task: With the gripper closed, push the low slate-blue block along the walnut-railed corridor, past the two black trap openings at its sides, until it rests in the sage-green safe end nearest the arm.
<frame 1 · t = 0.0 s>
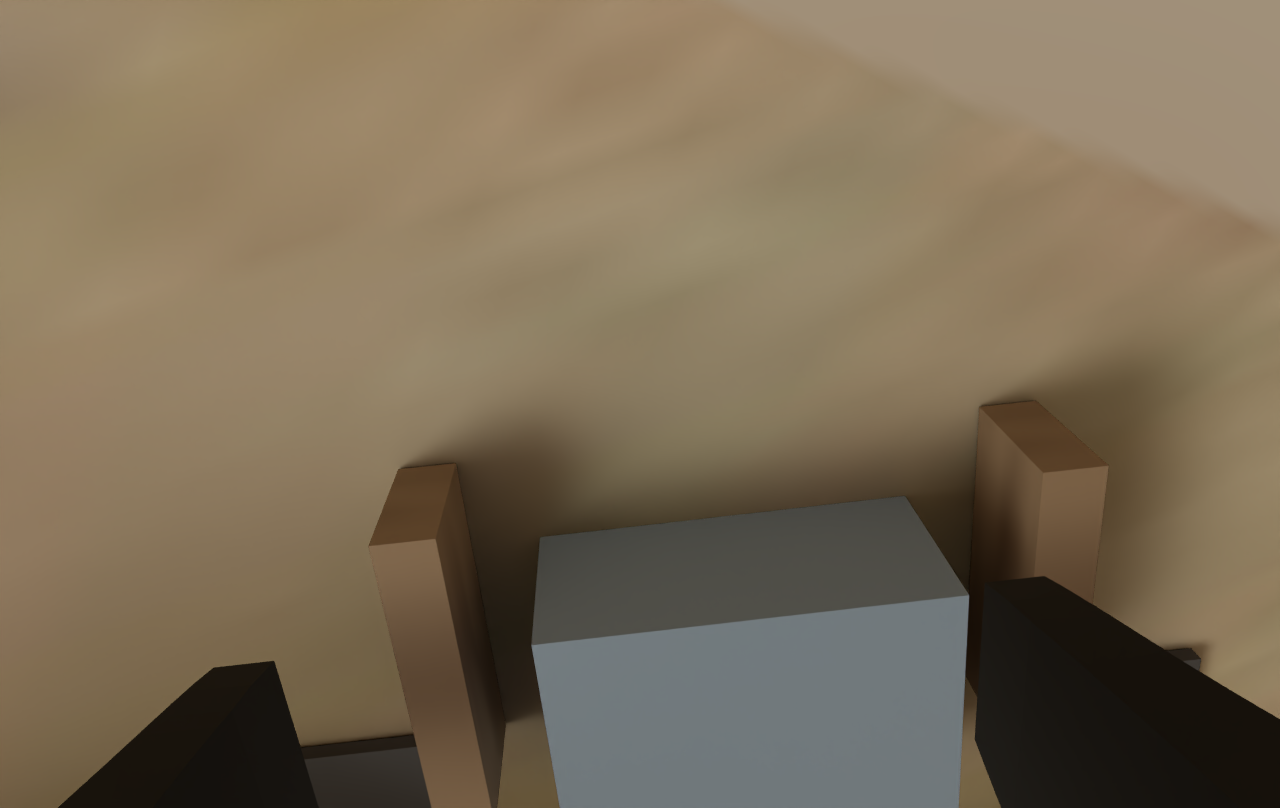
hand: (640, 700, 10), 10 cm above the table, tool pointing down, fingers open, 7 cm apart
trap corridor: (740, 763, 23), on the table
slate block: (730, 639, 22), on the table
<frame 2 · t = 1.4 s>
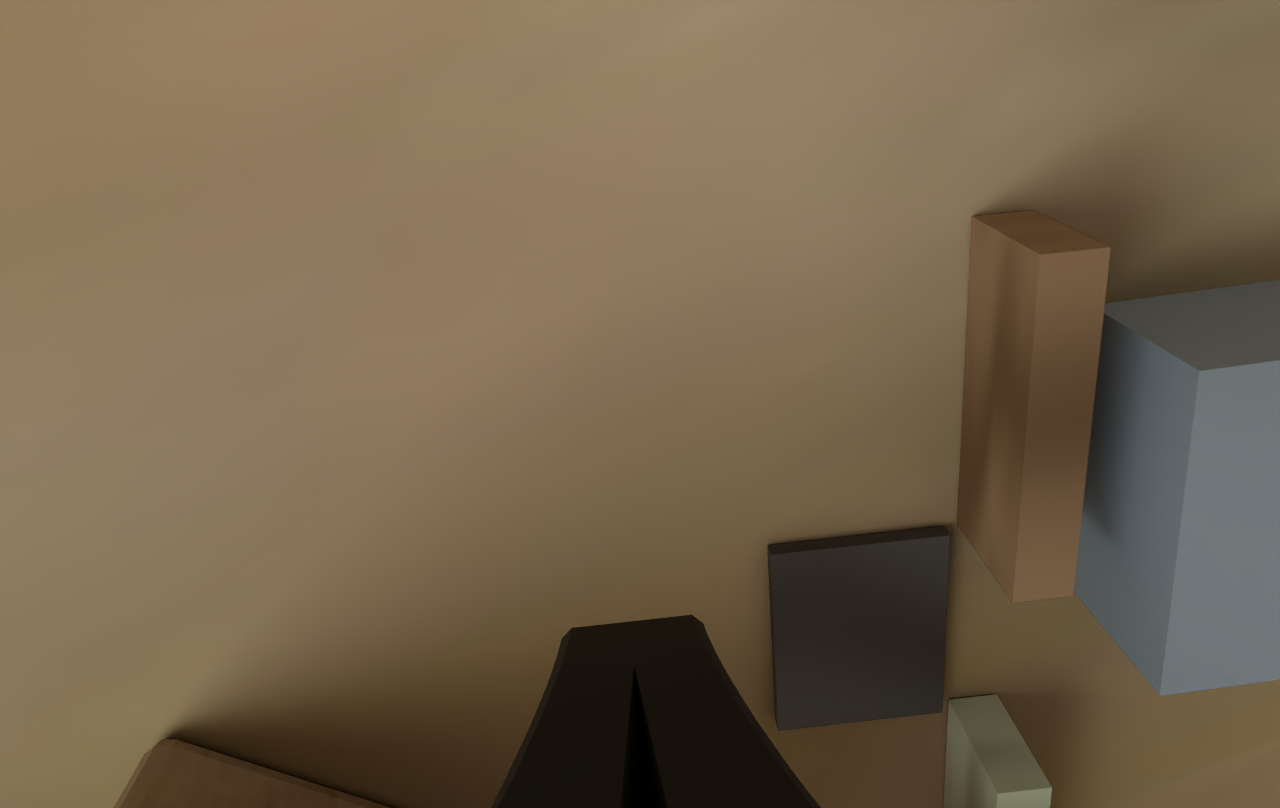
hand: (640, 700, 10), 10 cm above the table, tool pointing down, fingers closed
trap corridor: (1236, 567, 22), on the table
slate block: (1252, 426, 21), on the table
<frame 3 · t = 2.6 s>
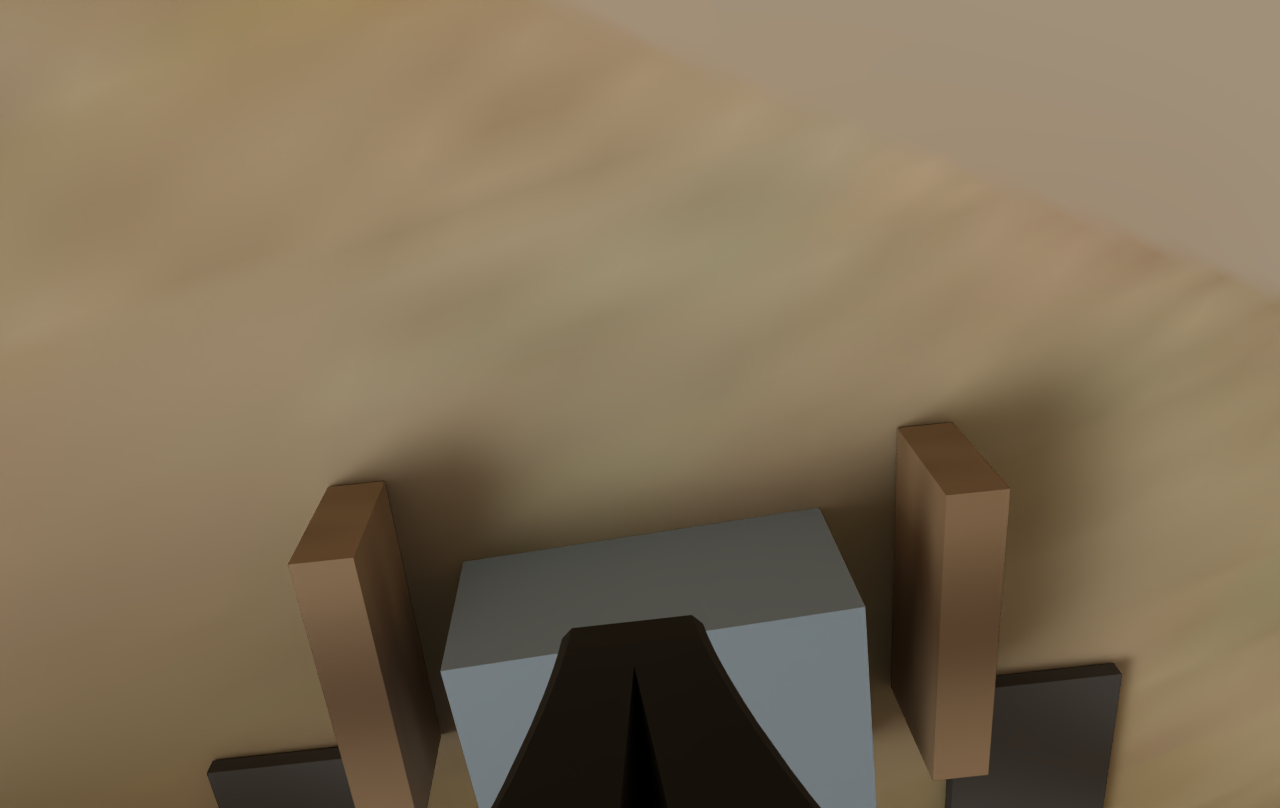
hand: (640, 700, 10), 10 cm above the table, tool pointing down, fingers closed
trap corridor: (672, 774, 24), on the table
slate block: (661, 653, 23), on the table
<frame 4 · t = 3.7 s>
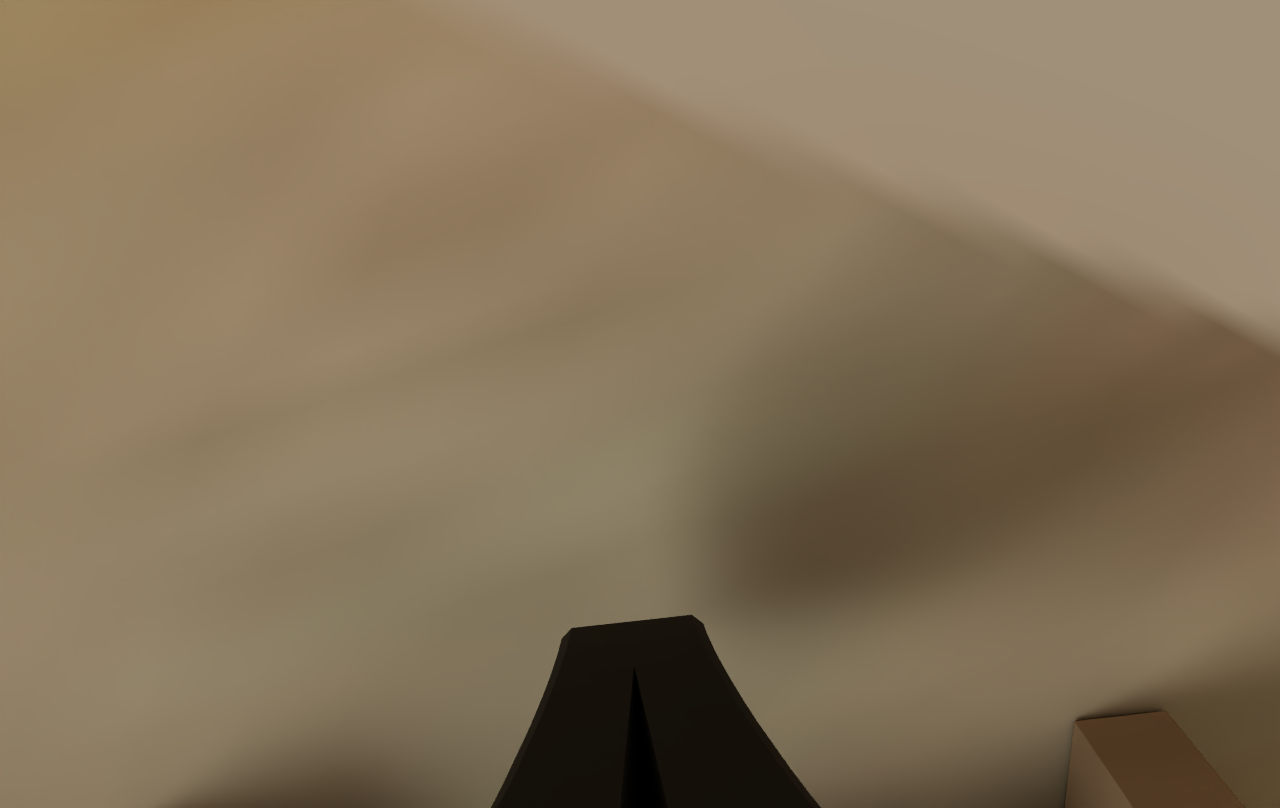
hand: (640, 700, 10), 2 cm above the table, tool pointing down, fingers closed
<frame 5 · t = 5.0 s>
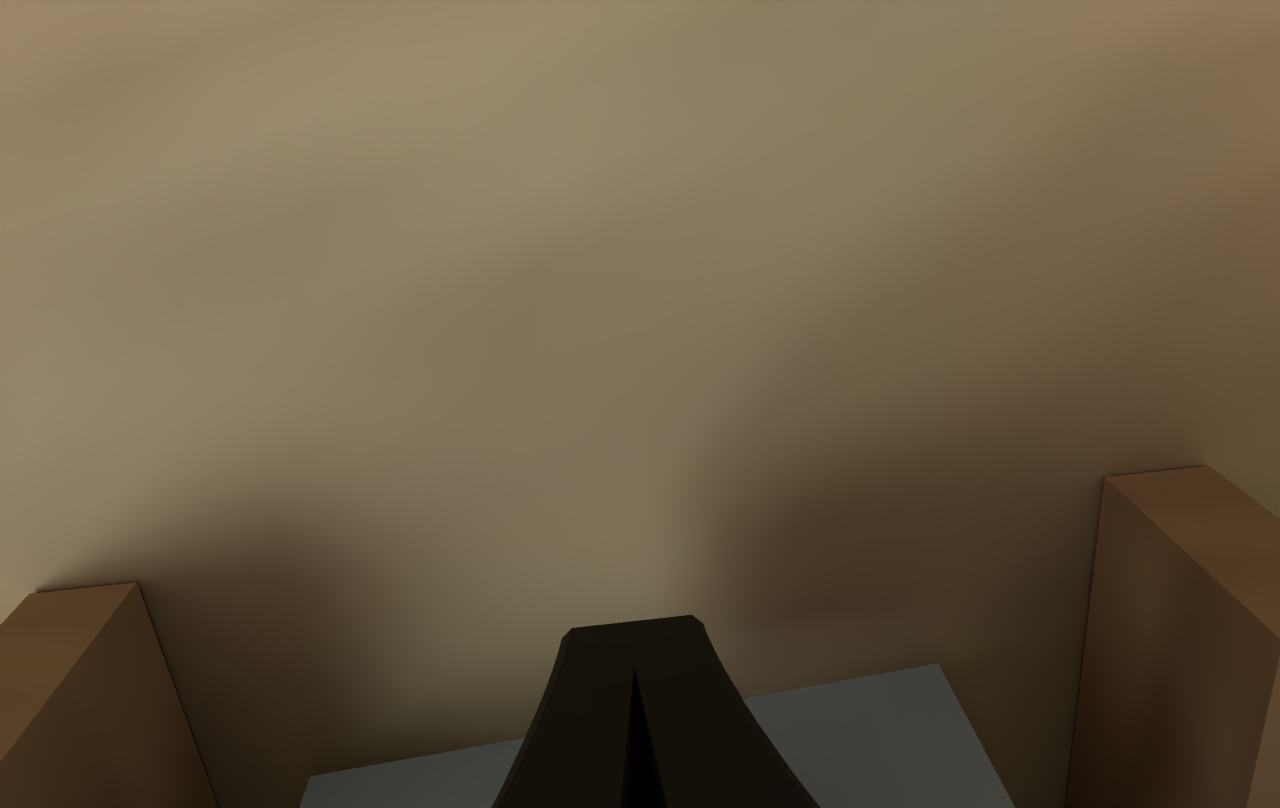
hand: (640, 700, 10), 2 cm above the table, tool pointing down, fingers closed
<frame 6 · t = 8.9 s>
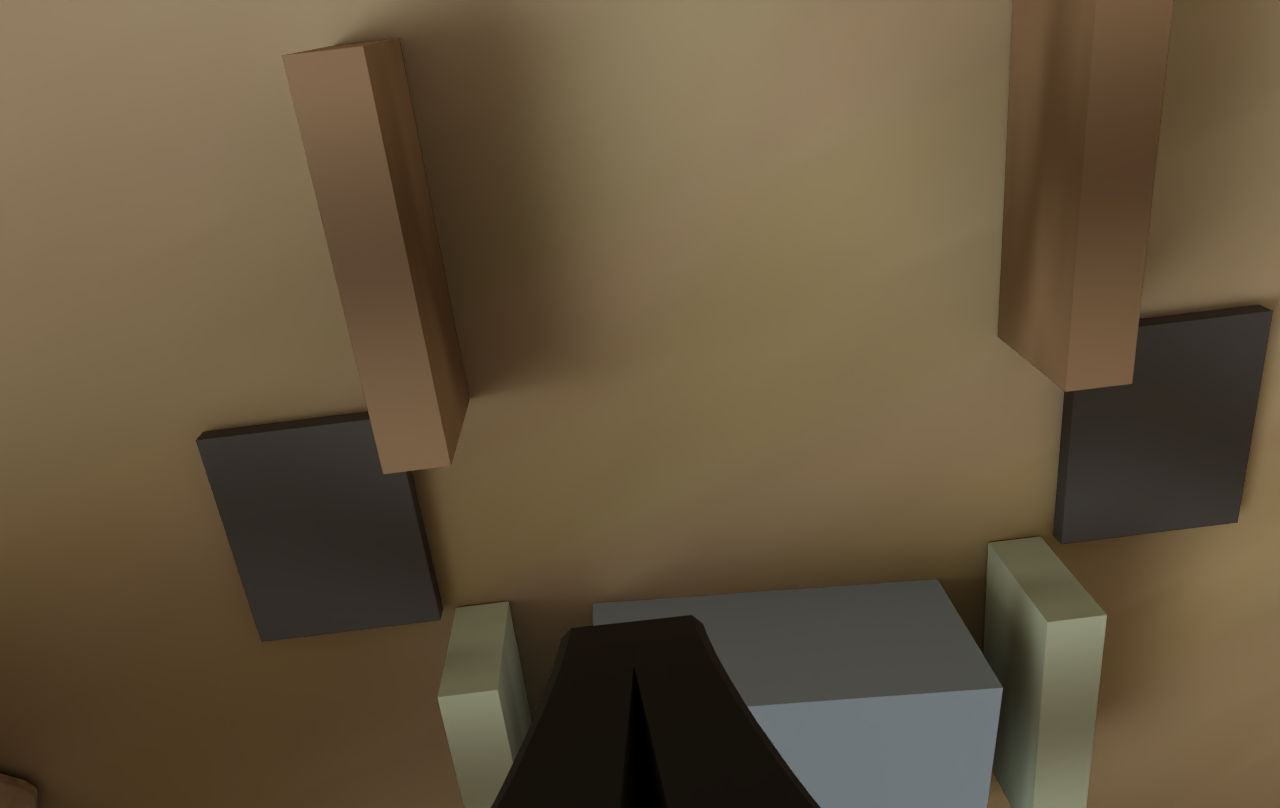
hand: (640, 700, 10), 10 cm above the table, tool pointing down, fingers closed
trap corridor: (740, 454, 20), on the table
slate block: (763, 703, 23), on the table
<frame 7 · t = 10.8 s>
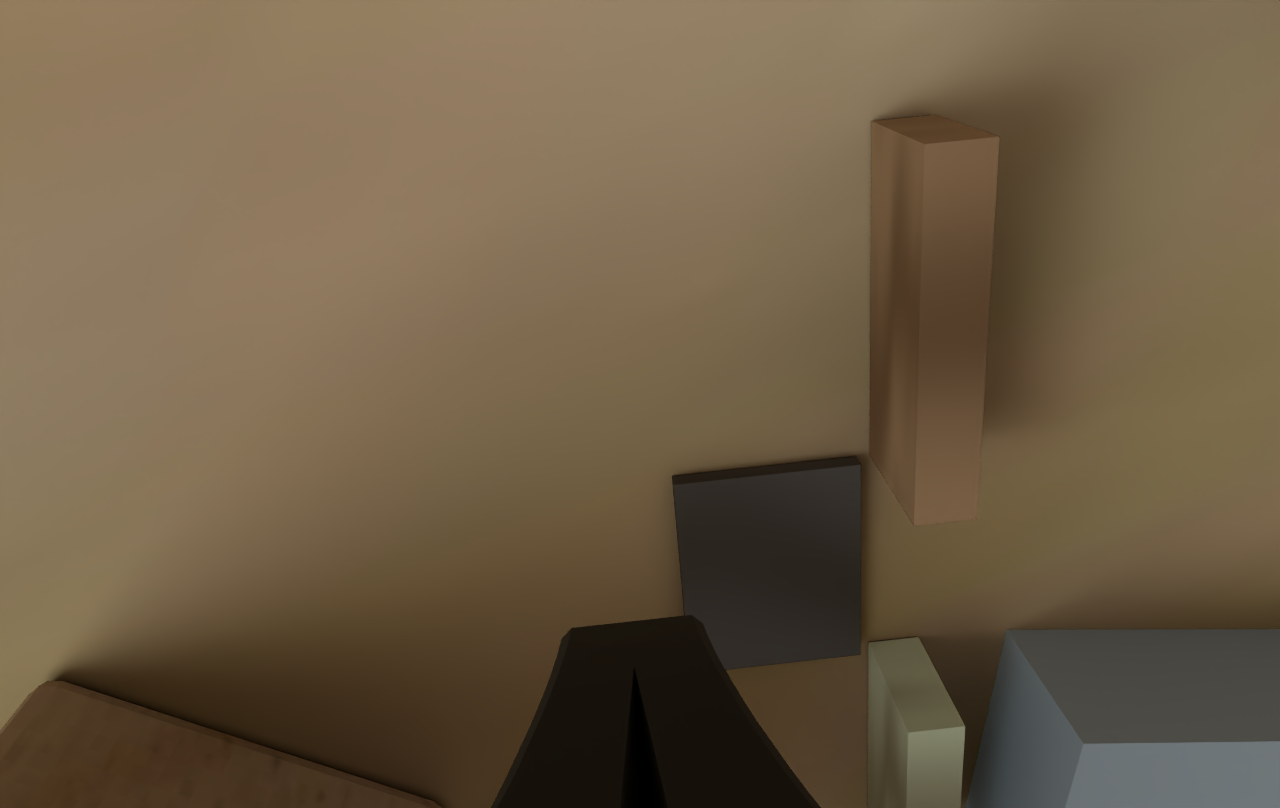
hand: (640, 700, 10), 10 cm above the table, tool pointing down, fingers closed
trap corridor: (1162, 502, 21), on the table
slate block: (1126, 734, 25), on the table
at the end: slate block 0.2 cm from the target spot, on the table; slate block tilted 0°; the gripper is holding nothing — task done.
